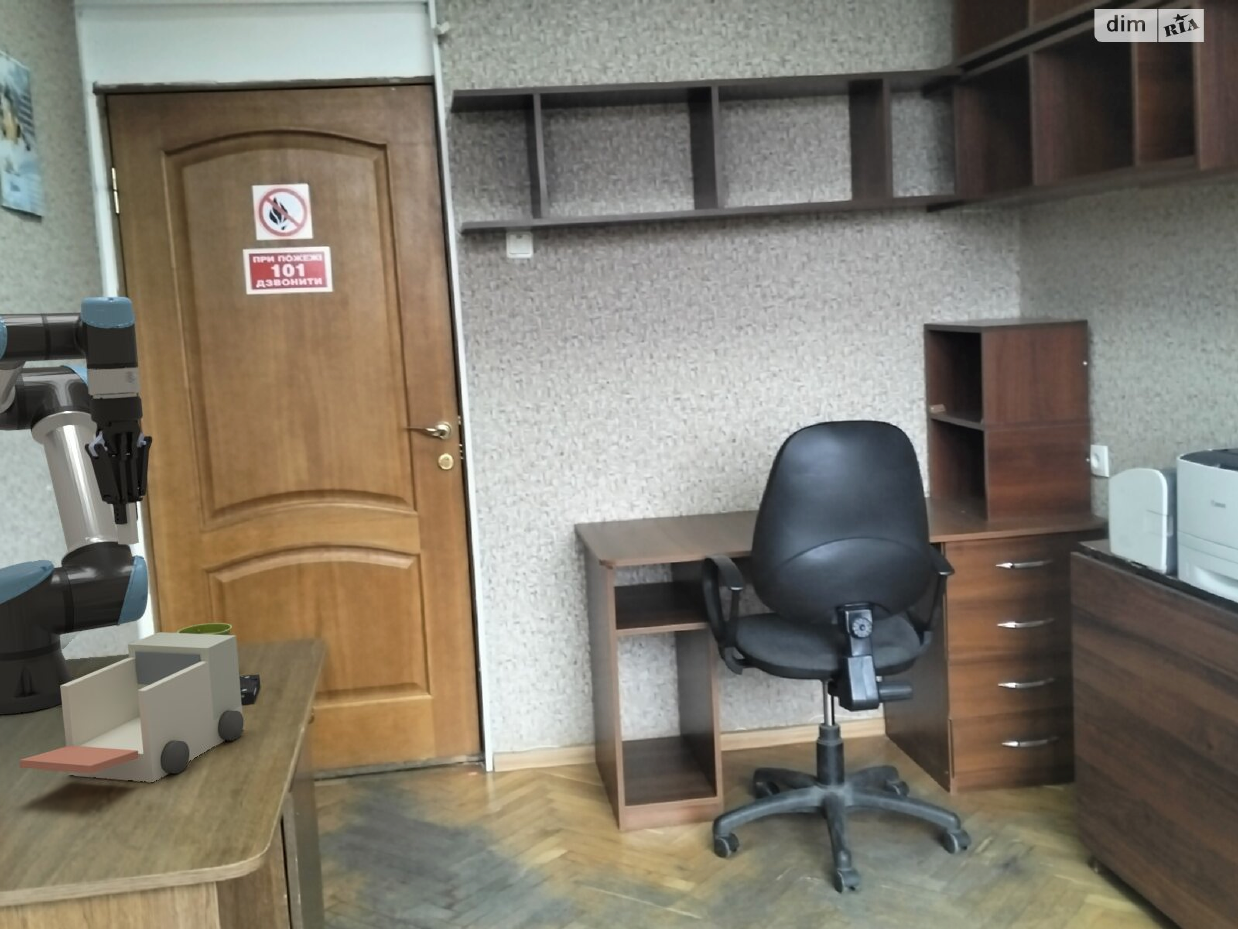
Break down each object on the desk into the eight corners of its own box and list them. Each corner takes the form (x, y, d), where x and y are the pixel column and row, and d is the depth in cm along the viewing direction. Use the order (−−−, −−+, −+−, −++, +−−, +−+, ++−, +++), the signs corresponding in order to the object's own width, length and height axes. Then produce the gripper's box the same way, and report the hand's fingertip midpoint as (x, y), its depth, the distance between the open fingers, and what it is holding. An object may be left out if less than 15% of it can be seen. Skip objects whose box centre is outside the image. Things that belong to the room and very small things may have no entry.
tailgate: (70, 754, 159) (19, 770, 151) (70, 745, 159) (19, 760, 151) (138, 760, 156) (90, 776, 148) (138, 750, 156) (90, 765, 148)
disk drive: (260, 689, 200) (171, 697, 197) (259, 673, 200) (170, 681, 197) (254, 707, 190) (160, 715, 187) (253, 691, 190) (158, 699, 187)
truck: (60, 774, 161) (50, 671, 160) (159, 724, 181) (151, 632, 180) (162, 783, 157) (152, 677, 155) (251, 730, 177) (243, 635, 175)
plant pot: (182, 672, 210) (178, 626, 209) (236, 665, 213) (232, 620, 212) (178, 686, 201) (174, 638, 200) (235, 679, 204) (231, 632, 203)
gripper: (105, 398, 173) (119, 551, 176) (162, 392, 185) (175, 536, 188) (65, 399, 175) (79, 551, 178) (123, 393, 187) (136, 535, 190)
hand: (128, 543), depth 183 cm, fingers closed
